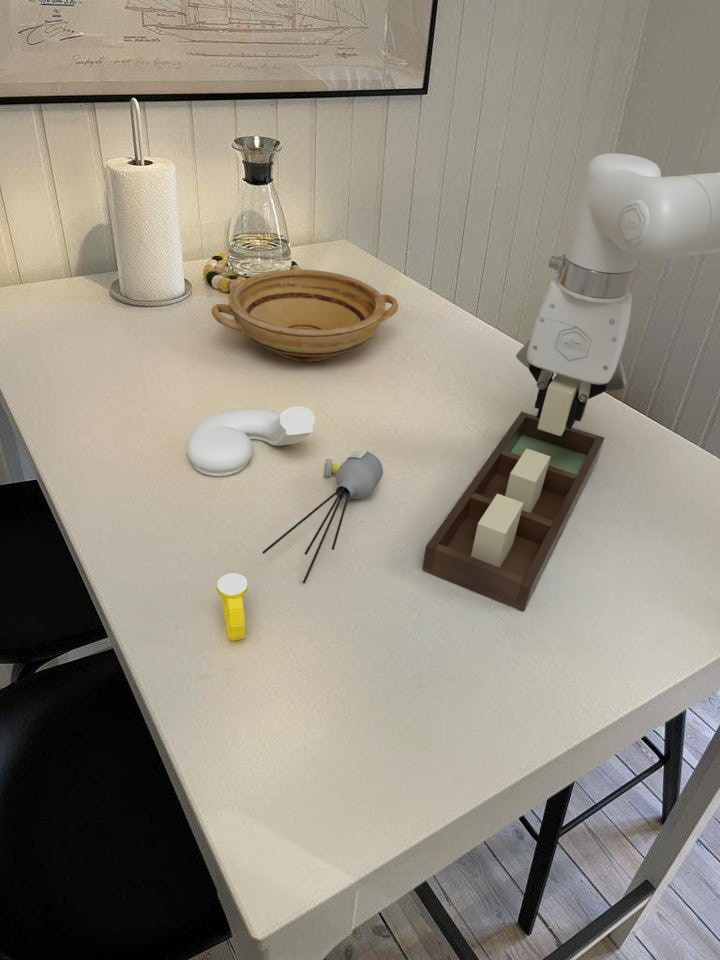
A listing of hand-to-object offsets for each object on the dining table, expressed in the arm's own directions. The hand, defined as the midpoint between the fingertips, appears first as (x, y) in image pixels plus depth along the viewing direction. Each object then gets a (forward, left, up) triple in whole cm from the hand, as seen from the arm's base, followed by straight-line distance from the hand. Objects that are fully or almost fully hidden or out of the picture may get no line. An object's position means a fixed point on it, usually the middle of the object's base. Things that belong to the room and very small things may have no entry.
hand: (556, 417), depth 93 cm
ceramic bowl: (+43, -11, -8) cm, 45 cm away
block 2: (0, +10, -7) cm, 13 cm away
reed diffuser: (+18, +25, -8) cm, 32 cm away
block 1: (0, +21, -7) cm, 22 cm away
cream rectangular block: (0, 0, -1) cm, 1 cm away
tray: (0, +11, -8) cm, 13 cm away
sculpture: (+34, +18, -8) cm, 39 cm away
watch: (+18, +44, -8) cm, 48 cm away
